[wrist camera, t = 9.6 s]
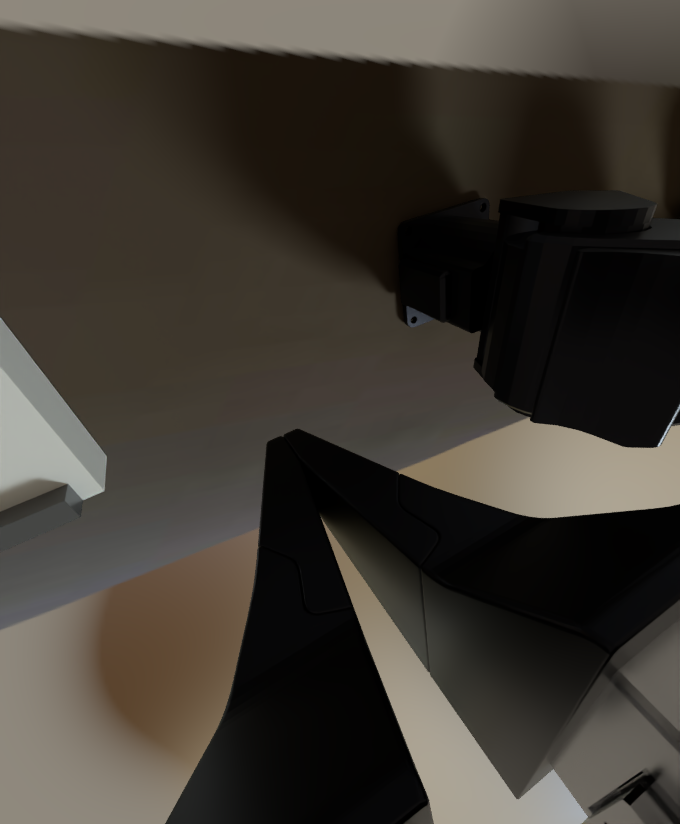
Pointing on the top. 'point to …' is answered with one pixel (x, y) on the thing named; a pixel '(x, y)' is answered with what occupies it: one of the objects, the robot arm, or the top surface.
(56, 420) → the tray
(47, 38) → the top surface
